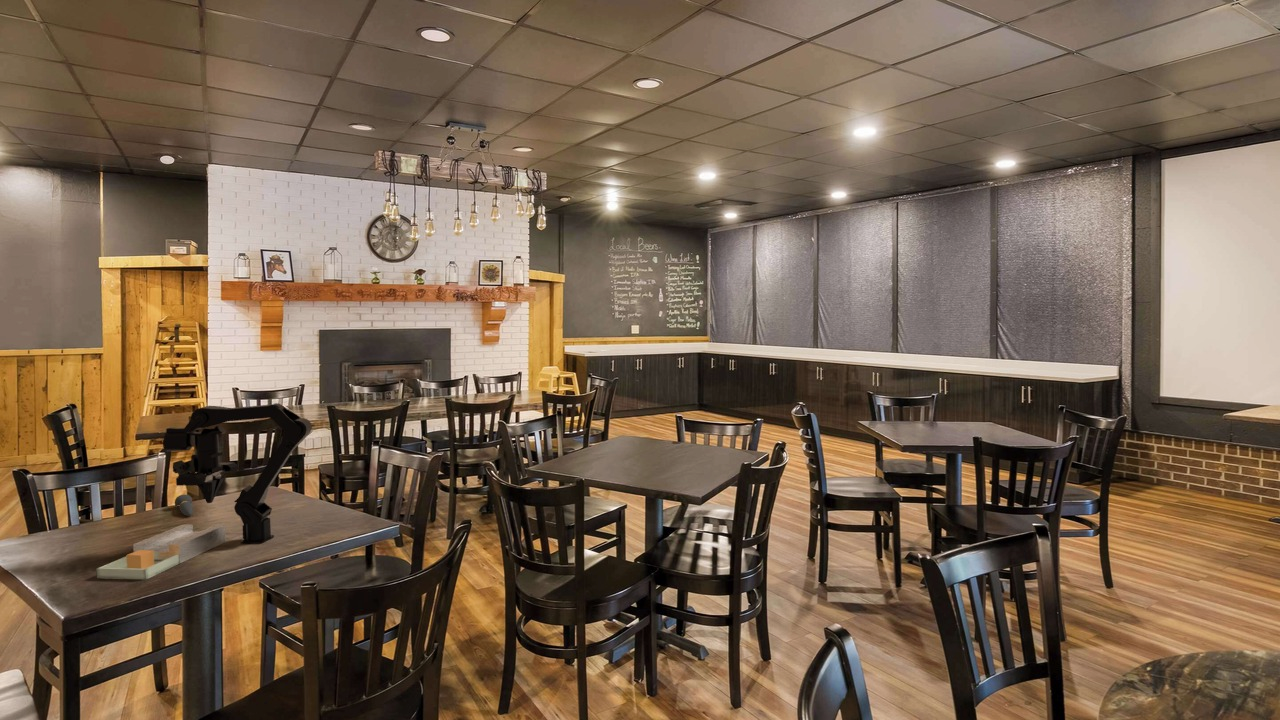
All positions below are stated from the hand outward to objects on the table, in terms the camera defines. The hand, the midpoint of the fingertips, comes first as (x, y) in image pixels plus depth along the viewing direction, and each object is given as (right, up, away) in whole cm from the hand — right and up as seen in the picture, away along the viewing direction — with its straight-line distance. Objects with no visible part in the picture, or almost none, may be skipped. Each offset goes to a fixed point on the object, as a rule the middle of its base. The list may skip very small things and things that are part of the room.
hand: (209, 502), depth 197 cm
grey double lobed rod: (-30, -11, +36) cm, 48 cm away
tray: (-5, -13, -22) cm, 26 cm away
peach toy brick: (-4, -10, -19) cm, 22 cm away
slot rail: (-3, -12, -7) cm, 15 cm away
